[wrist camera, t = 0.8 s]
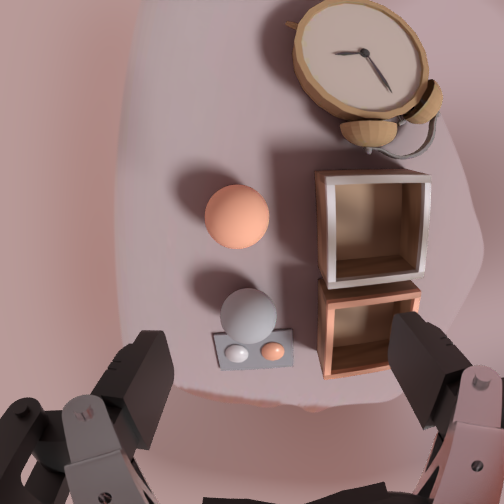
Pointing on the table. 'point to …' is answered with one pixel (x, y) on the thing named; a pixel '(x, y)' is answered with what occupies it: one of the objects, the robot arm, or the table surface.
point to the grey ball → (248, 316)
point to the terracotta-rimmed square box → (359, 325)
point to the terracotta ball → (236, 216)
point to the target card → (255, 352)
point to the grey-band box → (372, 225)
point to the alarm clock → (365, 71)
